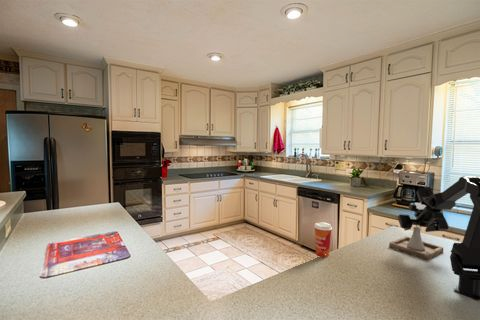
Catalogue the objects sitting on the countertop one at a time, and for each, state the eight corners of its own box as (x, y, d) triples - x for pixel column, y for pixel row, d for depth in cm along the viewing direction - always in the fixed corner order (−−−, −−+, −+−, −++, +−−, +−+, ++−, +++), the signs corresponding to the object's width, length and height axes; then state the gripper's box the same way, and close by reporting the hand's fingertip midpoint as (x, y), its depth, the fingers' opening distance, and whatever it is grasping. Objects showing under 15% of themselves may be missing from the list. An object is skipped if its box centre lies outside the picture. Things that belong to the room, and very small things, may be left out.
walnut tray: (427, 260, 106) (427, 255, 106) (389, 246, 120) (389, 242, 119) (443, 252, 114) (443, 247, 114) (405, 240, 128) (405, 236, 128)
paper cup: (309, 252, 113) (310, 223, 112) (322, 249, 116) (323, 220, 115) (322, 260, 106) (323, 228, 105) (335, 256, 109) (336, 225, 108)
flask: (423, 252, 112) (424, 231, 111) (404, 247, 117) (405, 227, 116) (426, 248, 116) (428, 227, 116) (408, 243, 122) (409, 223, 121)
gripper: (446, 199, 110) (430, 216, 121) (400, 197, 113) (389, 214, 125) (457, 222, 102) (439, 238, 114) (407, 219, 106) (395, 235, 117)
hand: (415, 230), depth 118 cm, fingers open, 9 cm apart
